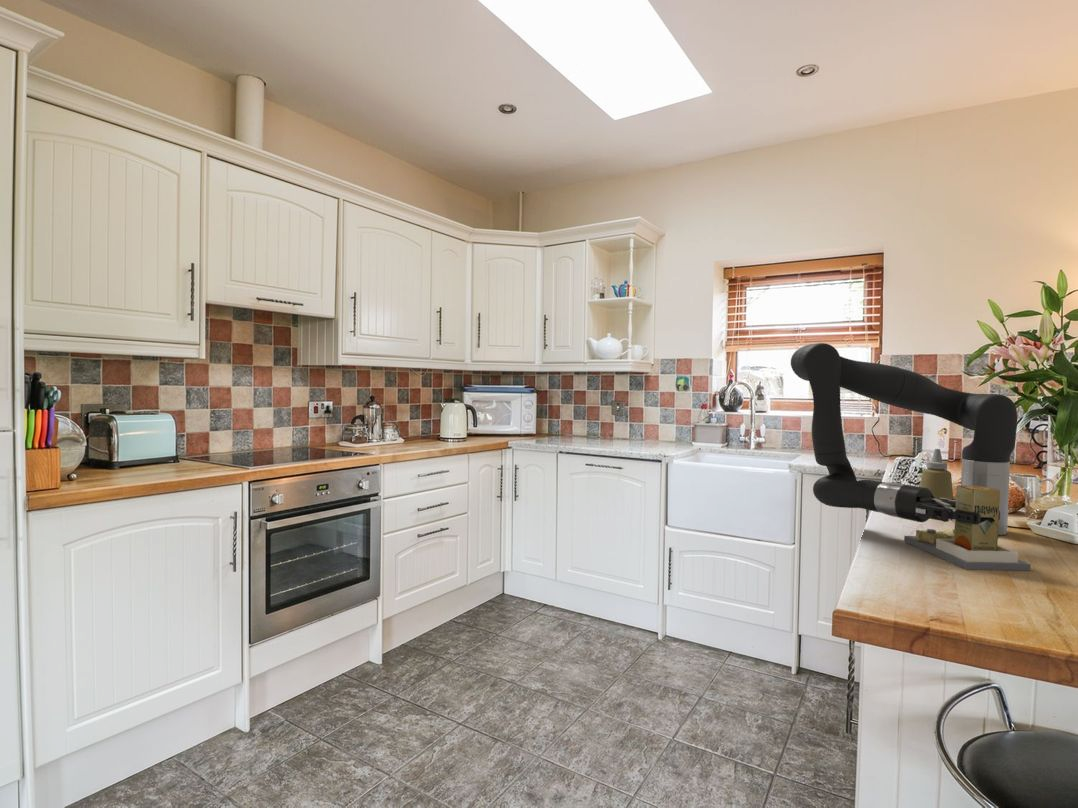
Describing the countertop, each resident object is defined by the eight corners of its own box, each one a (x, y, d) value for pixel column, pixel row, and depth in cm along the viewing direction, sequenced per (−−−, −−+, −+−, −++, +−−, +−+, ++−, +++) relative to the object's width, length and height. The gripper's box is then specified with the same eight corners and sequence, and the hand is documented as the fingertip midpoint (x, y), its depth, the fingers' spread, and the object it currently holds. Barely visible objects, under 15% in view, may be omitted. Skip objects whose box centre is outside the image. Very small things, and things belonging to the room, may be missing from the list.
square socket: (935, 547, 121) (936, 538, 121) (982, 548, 121) (982, 539, 121) (967, 561, 112) (967, 551, 112) (1017, 562, 111) (1018, 552, 111)
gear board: (904, 541, 131) (904, 525, 131) (959, 542, 131) (960, 526, 130) (965, 569, 111) (966, 550, 111) (1031, 570, 111) (1032, 551, 110)
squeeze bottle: (926, 517, 156) (928, 450, 155) (912, 510, 164) (914, 447, 163) (959, 518, 154) (961, 451, 154) (943, 512, 162) (945, 447, 162)
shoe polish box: (953, 543, 119) (956, 485, 118) (978, 544, 119) (981, 485, 118) (971, 550, 114) (974, 490, 113) (997, 551, 114) (999, 490, 113)
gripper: (884, 486, 125) (970, 501, 110) (922, 482, 132) (1009, 495, 117) (882, 521, 126) (969, 540, 111) (921, 514, 132) (1007, 532, 117)
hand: (989, 517), depth 114 cm, fingers closed on shoe polish box, 6 cm apart
